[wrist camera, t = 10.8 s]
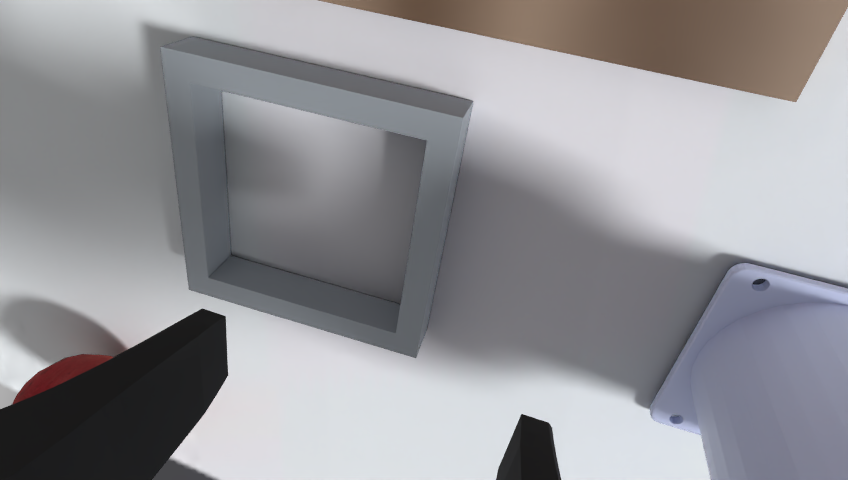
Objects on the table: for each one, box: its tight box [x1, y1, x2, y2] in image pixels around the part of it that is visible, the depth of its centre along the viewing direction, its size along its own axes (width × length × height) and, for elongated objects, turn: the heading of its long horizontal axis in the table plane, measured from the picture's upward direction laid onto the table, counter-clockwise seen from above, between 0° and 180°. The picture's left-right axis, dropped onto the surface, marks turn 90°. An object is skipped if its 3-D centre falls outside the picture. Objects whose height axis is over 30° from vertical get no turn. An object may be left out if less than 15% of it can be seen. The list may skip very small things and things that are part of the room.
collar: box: [160, 37, 473, 358], centre depth 21 cm, size 10×10×2 cm
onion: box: [13, 354, 113, 404], centre depth 27 cm, size 6×6×8 cm
